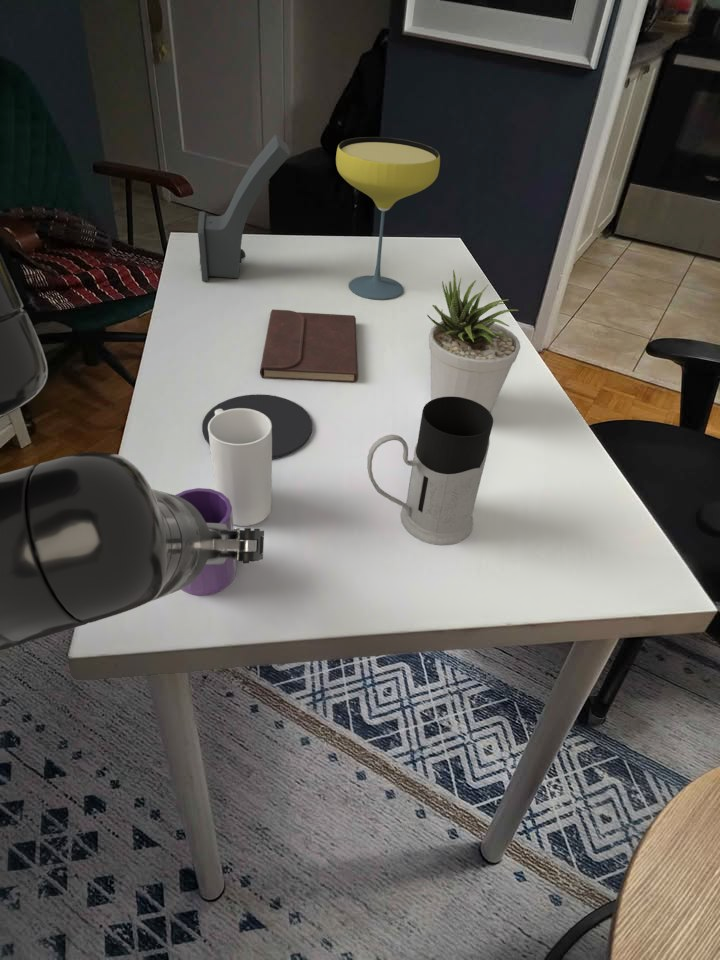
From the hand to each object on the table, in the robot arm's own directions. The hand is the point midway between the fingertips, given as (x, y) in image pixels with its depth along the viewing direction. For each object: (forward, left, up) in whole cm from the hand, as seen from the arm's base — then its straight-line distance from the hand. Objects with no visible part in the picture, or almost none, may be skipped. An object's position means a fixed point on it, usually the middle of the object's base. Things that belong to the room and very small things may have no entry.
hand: (190, 541), depth 60 cm
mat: (+13, +28, -9) cm, 32 cm away
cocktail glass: (+47, +67, -9) cm, 83 cm away
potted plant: (+43, +25, -9) cm, 51 cm away
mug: (+7, +14, -9) cm, 19 cm away
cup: (+1, +4, -9) cm, 10 cm away
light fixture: (+24, +80, -9) cm, 84 cm away
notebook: (+27, +47, -9) cm, 55 cm away
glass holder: (+26, +4, -9) cm, 28 cm away
